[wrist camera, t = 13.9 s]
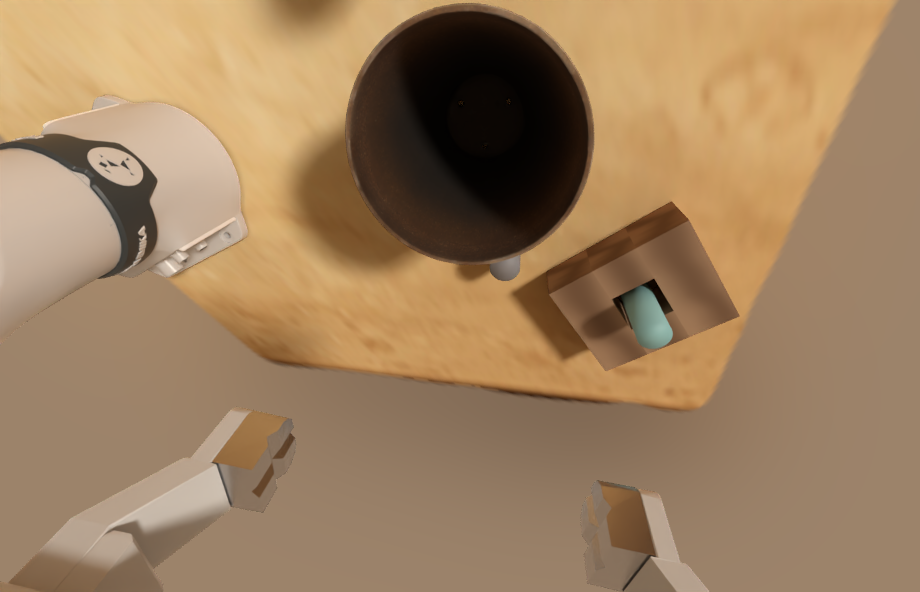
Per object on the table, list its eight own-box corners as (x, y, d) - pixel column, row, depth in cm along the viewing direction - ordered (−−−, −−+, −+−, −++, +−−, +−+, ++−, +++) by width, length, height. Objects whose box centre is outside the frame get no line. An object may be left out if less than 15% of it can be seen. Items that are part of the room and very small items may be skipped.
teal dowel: (623, 296, 45) (645, 353, 37) (610, 277, 44) (630, 331, 36) (649, 284, 44) (678, 340, 36) (637, 263, 43) (663, 316, 35)
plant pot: (585, 25, 33) (626, 11, 20) (553, 201, 41) (566, 277, 27) (408, 15, 34) (331, -5, 21) (410, 187, 42) (355, 253, 29)
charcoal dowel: (503, 263, 45) (500, 285, 41) (487, 243, 44) (483, 264, 40) (525, 250, 44) (525, 271, 40) (510, 229, 43) (508, 248, 39)
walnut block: (599, 343, 49) (605, 371, 45) (546, 271, 45) (548, 294, 41) (719, 290, 43) (739, 316, 39) (671, 201, 39) (689, 220, 35)
